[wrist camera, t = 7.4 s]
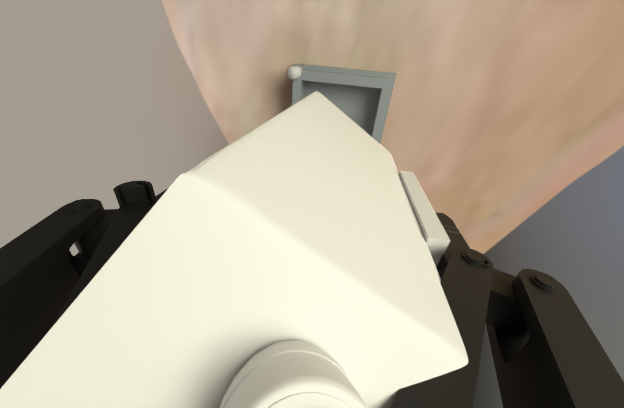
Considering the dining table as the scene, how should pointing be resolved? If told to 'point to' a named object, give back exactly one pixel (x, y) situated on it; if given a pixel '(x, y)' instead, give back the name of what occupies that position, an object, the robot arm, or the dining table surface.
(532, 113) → the dining table surface
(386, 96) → the seat block
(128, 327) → the milk carton
